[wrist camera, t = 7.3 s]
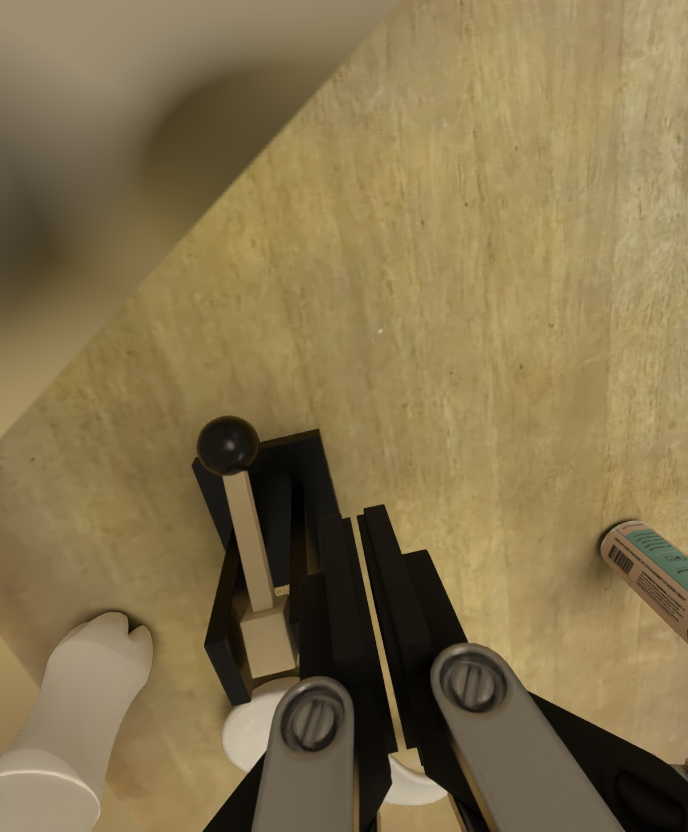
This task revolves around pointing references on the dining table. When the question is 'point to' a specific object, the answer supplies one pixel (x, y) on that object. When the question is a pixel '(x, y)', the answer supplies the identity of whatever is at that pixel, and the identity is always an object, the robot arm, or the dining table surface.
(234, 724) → the spoon rest
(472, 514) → the dining table surface
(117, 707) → the water bottle
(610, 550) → the beer can
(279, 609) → the switch lever
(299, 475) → the bracket
